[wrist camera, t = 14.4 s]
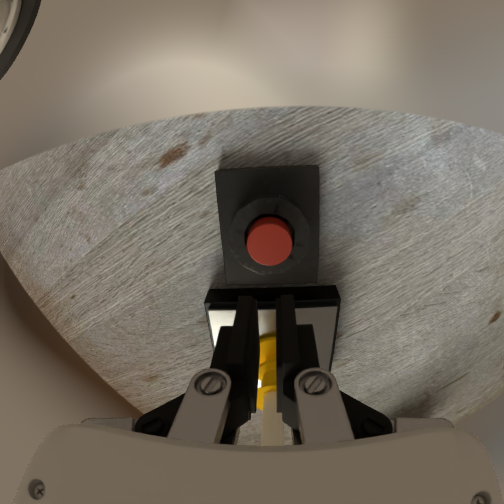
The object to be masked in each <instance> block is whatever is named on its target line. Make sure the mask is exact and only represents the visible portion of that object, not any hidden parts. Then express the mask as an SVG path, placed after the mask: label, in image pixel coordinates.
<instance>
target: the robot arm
mask: <svg viewBox="0 0 504 504" xmlns="http://www.w3.org/2000/svg"><path fill="white" fill-rule="evenodd" d="M21 4H22V1H21V0H0V54H1V52H2V51H3V49H4V47H5V46H6V44H7V42H8V40H9V38H10V36H11V34H12V32H13V30H14V28H15V25H16V23H17V20H18V17H19V14H20V10H21ZM259 362H260V337H259V322H258V307H257V299H252V296H239V297H238V302H237V308H236V313H235V318H234V323H233V326H221V327H220V329H219V333H218V337H217V341H216V345H215V349H214V353H213V357H212V362H211V366H210V369H205V370H202V371H200V372H198V373H197V374H195V375H194V376H193V378H192V379H191V381H190V384H189V386H188V388H187V391H186V393H184V394H182V395H180V396H179V397H177V398H175V399H173V400H171V401H169V402H167V403H165V404H164V405H162V406H160V407H158V408H156V409H154V410H152V411H150V412H148V413H146V414H144V415H143V416H141V417H140V418H139V419H136V420H135V419H134V418H133V417H122V418H88V419H85V420H84V421H82V422H81V423H80V424H68V425H63V426H59V427H57V428H55V429H53V430H52V431H51V432H50V433H49V434H48V435H47V436H46V437H45V438H44V440H43V441H42V443H41V444H40V445H39V447H38V449H37V451H36V452H35V454H34V456H33V458H32V460H31V462H30V464H29V465H28V467H27V469H26V472H25V474H24V476H23V478H22V481H21V483H20V486H19V488H18V491H17V493H16V496H15V498H14V501H13V503H12V504H504V502H503V498H502V494H501V490H500V487H499V483H498V479H497V477H496V474H495V471H494V468H493V466H492V463H491V461H490V458H489V456H488V454H487V452H486V450H485V448H484V447H483V445H482V443H481V442H480V440H479V439H478V438H477V437H476V436H475V435H474V434H473V433H472V432H470V431H468V430H465V429H461V428H454V426H453V424H452V423H451V422H450V421H448V420H447V419H444V418H402V417H397V418H396V419H395V420H390V419H389V418H388V417H386V416H385V415H384V414H382V413H380V412H378V411H376V410H374V409H372V408H371V407H369V406H367V405H365V404H363V403H361V402H360V401H358V400H356V399H354V398H352V397H351V396H349V395H347V394H345V393H344V392H342V391H340V390H339V388H338V384H337V381H336V379H335V377H334V375H333V374H332V373H331V372H329V371H328V370H325V369H323V368H320V365H319V359H318V352H317V346H316V340H315V335H314V329H313V325H312V324H299V325H297V323H296V314H295V305H294V296H293V295H281V298H276V398H277V413H282V421H283V422H284V423H286V424H287V425H288V426H290V427H291V434H292V441H293V445H285V446H250V445H237V441H238V437H239V433H240V426H241V425H243V424H244V423H246V422H247V421H248V420H250V419H251V413H256V407H257V392H258V377H259Z"/></svg>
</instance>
